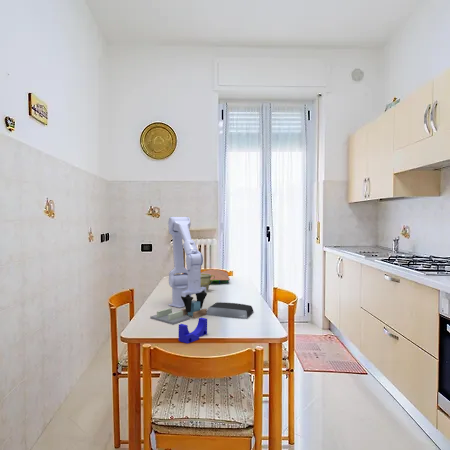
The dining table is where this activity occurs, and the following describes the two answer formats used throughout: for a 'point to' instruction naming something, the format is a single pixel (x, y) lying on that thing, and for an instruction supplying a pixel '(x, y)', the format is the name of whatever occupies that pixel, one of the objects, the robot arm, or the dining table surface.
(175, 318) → the dock
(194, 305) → the blue rectangular block
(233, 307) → the external hard drive
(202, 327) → the blue cradle holder
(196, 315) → the cradle
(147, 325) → the dining table surface
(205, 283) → the ceramic cup
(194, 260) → the robot arm
